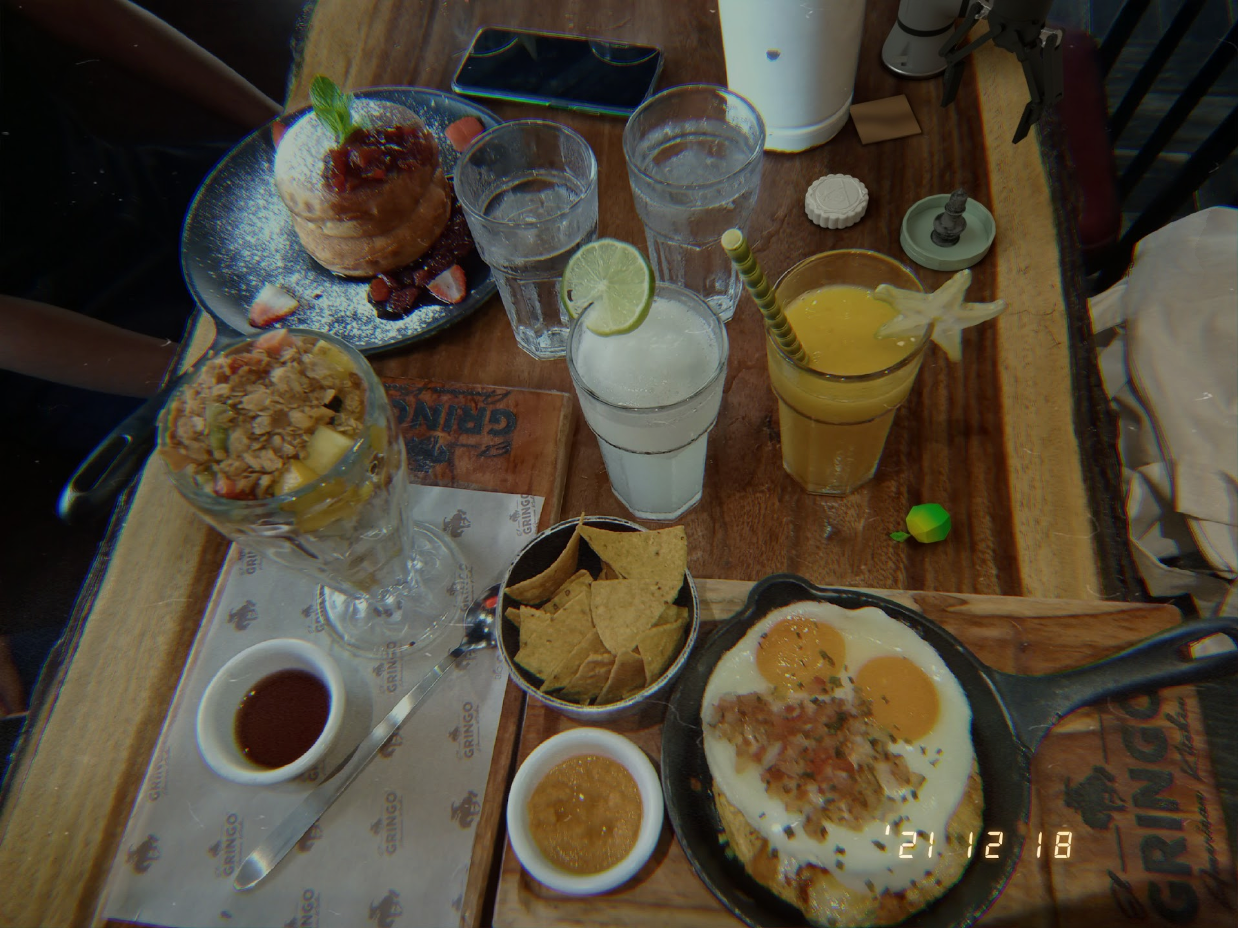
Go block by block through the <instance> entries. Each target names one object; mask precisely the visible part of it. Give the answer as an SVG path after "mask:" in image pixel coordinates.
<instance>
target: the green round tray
mask: <svg viewBox="0 0 1238 928" xmlns="http://www.w3.org/2000/svg"><path fill="white" fill-rule="evenodd" d="M951 194H952V193H940V194H934V195H930V196H929V195H928V196H926V197H924V198H923V199H920V200H918V201H916V202H915V203H914V204H912V206H911V207H909V209H907V211H906V213H905V215H904V217H903V219H902V223H901V227H900V233H899V241H900V245H901V247H902V249H903V251H904V252H905V254H906V255H907V257H909V258H910V259H911V260H912V261H914V262H915V263H917V264H918V265H920V266H923V267H924V268H927V269H931V270H934V271H940V272H953V271H954V272H955V271H961V270H963V269H964V270H965V269H967V268H970V267H972V266H974V265H976V264H978V263H979V262H980V261H982V259H983V258H985V256H986V255H988V253H989V250H990V247H991V245H992V243H993V241H994V239H995V236H996V232H997V231H996V228H997V227H996V221H995V219H994V217H993V214H992V212H991V211H989V209H988V208H987V207H985V206H984V205H983V204H982V203H981V202H979V201H978V200H975V199H973V198H971V197H968V199H967V201H966V204H965V206H966V210H965V212H964V213H963V214H962V216H963V217H964V218H965V220H966V222H967V225H966V228H965V230H964V231H963V232H962V233H961V234H960V240H959V242H958V243H957V244H956V245H954V246H952V247H946V248H945V247H940V246H937V245H935V244H934V243H933V242H932V240H931V238H930V235H931V232H932V231H933V230H934V226H933V220H934V218H935V217H936V216H937V215H938V214H940V213H942V212H945V205H946V203H948V202H949V199H950V196H951Z"/></svg>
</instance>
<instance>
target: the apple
mask: <svg viewBox="0 0 1238 928" xmlns="http://www.w3.org/2000/svg"><path fill="white" fill-rule="evenodd" d="M905 523H906V528H907V531H908V532H909V534H908V533H905V532H903V531H901V530H896V531H894V532H892V533H891V534H889V537H891V539H893V540H894V541H896V542H897V543H903V542H904V541H905V540H907V539H908V538H910V537H911V536H912V537H913V538H914V539H915V540H916V541H917V542H918V543H925V544H928V543H929V544H930V543H935V542H940V541H944V540H946V538H947V536H948V534H949V532H950V530H951V529H952V520H951V515H950V514H949V513H948V512H947V511H946V509H944V507H942V505H940V503H931V502H929V503H924V504H919V505H913V506H912V508H911V509H910V511H909V513H908V514H907V516H906V518H905Z"/></svg>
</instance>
